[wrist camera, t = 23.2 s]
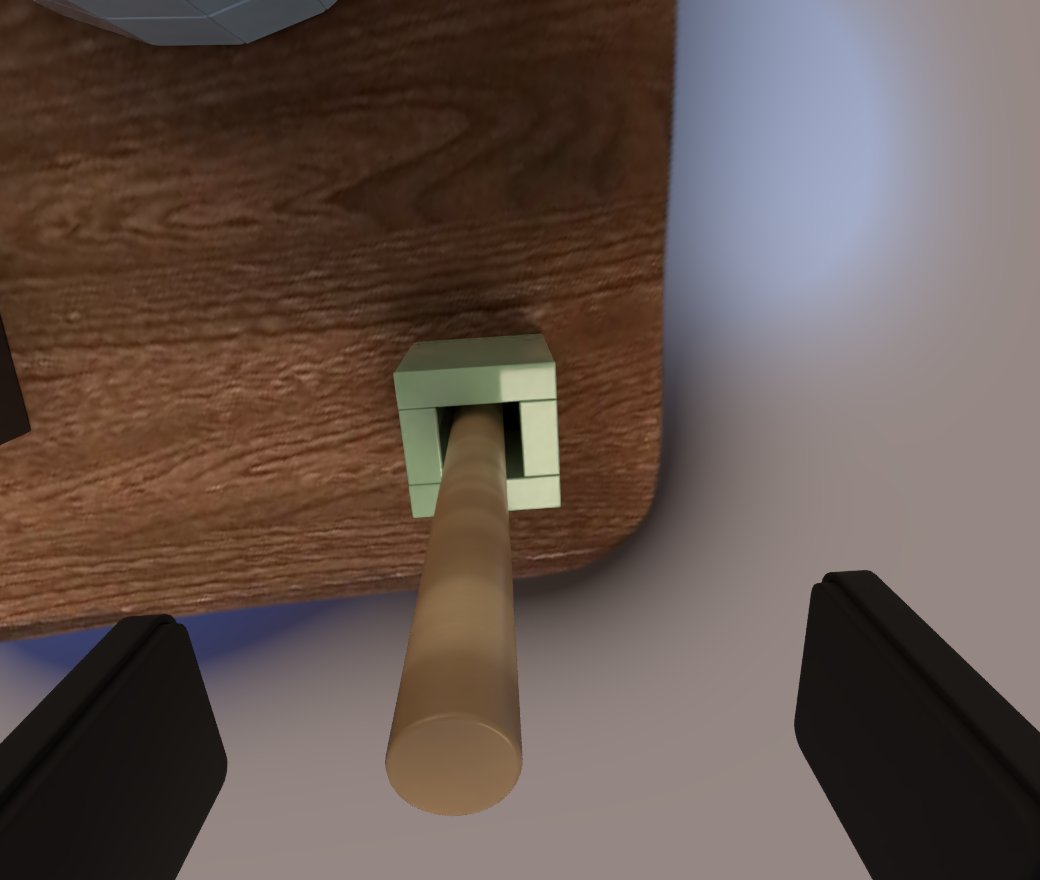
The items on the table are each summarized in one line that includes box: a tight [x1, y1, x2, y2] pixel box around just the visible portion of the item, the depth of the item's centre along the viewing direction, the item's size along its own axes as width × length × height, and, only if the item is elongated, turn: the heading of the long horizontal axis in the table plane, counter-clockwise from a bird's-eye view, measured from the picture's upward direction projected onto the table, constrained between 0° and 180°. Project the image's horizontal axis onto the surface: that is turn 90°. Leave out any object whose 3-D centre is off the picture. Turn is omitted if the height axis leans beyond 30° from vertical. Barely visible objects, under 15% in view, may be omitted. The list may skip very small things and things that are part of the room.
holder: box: [393, 334, 561, 518], centre depth 21 cm, size 5×5×5 cm
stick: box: [385, 403, 522, 816], centre depth 16 cm, size 2×2×17 cm
